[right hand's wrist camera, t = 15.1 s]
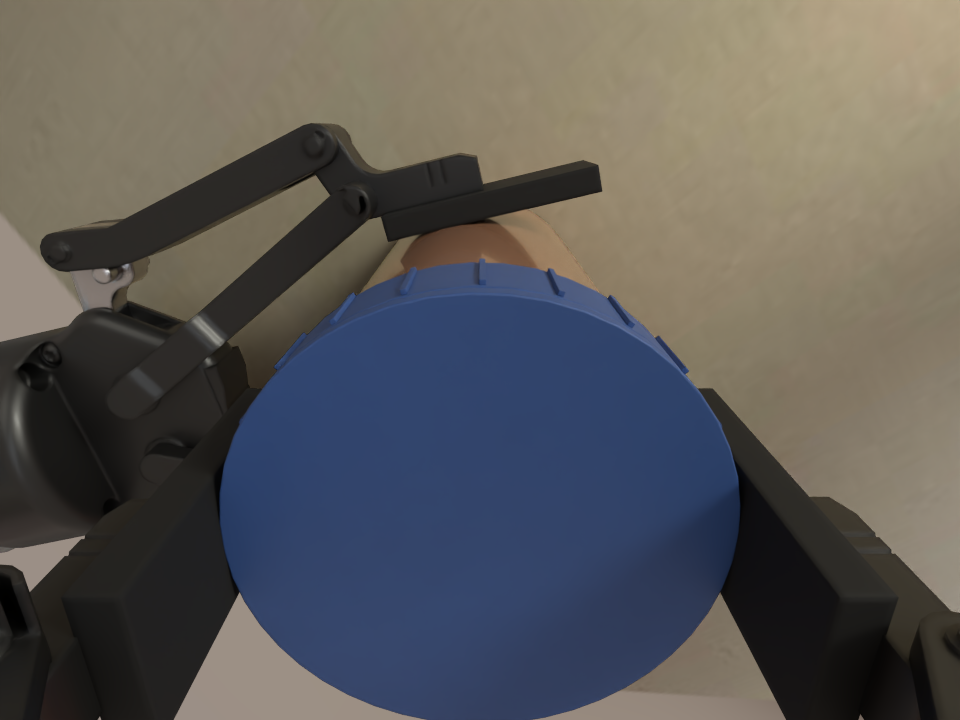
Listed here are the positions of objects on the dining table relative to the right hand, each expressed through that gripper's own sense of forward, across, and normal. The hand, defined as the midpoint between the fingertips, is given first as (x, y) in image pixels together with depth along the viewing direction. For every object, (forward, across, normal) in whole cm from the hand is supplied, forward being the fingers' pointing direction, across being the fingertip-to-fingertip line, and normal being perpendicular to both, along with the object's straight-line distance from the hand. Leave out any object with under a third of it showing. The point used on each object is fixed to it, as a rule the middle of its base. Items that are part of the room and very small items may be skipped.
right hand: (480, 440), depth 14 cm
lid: (-3, 0, 0) cm, 3 cm away
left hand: (+7, -4, -1) cm, 8 cm away
